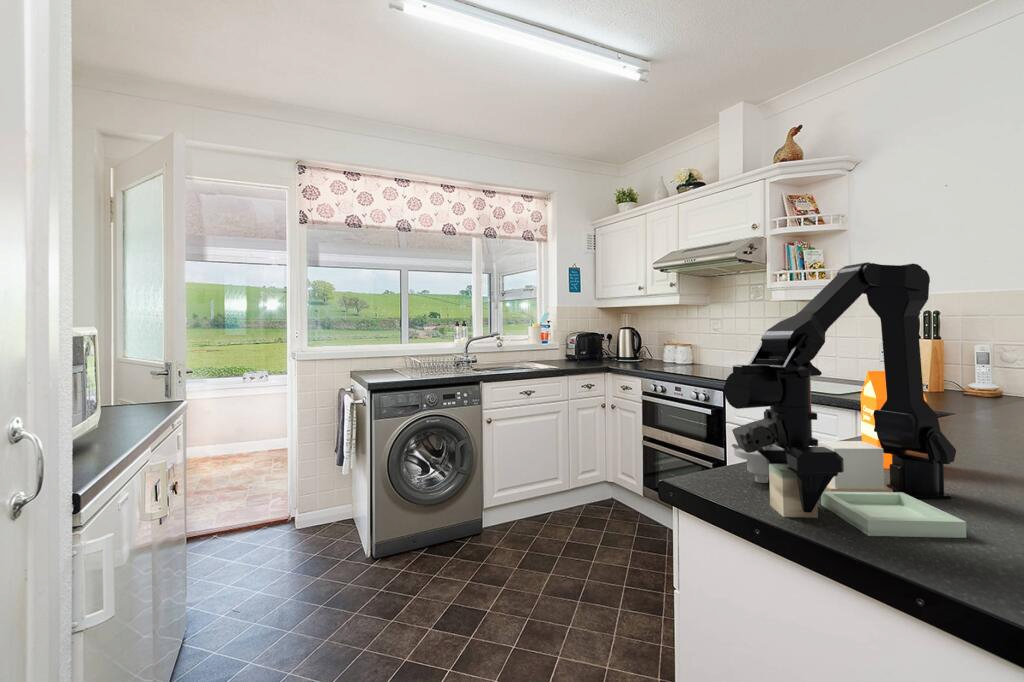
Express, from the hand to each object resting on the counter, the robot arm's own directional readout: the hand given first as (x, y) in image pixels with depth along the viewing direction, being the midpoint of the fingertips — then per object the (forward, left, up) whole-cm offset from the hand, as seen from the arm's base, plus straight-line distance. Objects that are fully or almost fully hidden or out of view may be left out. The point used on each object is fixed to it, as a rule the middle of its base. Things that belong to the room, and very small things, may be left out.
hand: (792, 501), depth 76 cm
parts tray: (-12, +3, -2) cm, 12 cm away
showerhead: (-1, -16, -2) cm, 16 cm away
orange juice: (-33, -29, -2) cm, 44 cm away
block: (0, 0, -2) cm, 2 cm away
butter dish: (-15, -13, -2) cm, 20 cm away
